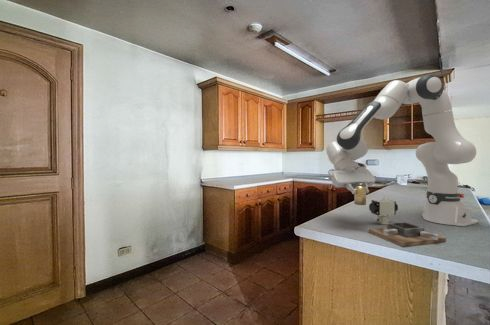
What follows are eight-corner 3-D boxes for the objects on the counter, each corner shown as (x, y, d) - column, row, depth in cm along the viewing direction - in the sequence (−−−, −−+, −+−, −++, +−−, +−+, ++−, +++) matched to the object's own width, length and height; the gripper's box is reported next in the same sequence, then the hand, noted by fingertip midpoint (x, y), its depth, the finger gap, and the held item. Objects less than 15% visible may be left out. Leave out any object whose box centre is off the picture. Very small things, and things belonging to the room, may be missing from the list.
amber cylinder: (360, 202, 103) (360, 182, 102) (368, 204, 98) (368, 183, 98) (352, 203, 102) (352, 183, 101) (359, 205, 97) (359, 184, 97)
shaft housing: (406, 228, 101) (406, 218, 101) (449, 242, 85) (449, 230, 85) (368, 232, 97) (368, 221, 97) (405, 248, 80) (406, 235, 80)
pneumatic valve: (398, 224, 107) (398, 199, 107) (375, 225, 106) (375, 199, 105) (389, 221, 113) (389, 196, 112) (367, 222, 111) (367, 197, 111)
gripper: (329, 164, 104) (343, 189, 94) (368, 164, 108) (384, 187, 99) (324, 174, 108) (336, 198, 99) (361, 172, 113) (376, 196, 104)
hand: (361, 193), depth 99 cm, fingers closed on amber cylinder, 4 cm apart
